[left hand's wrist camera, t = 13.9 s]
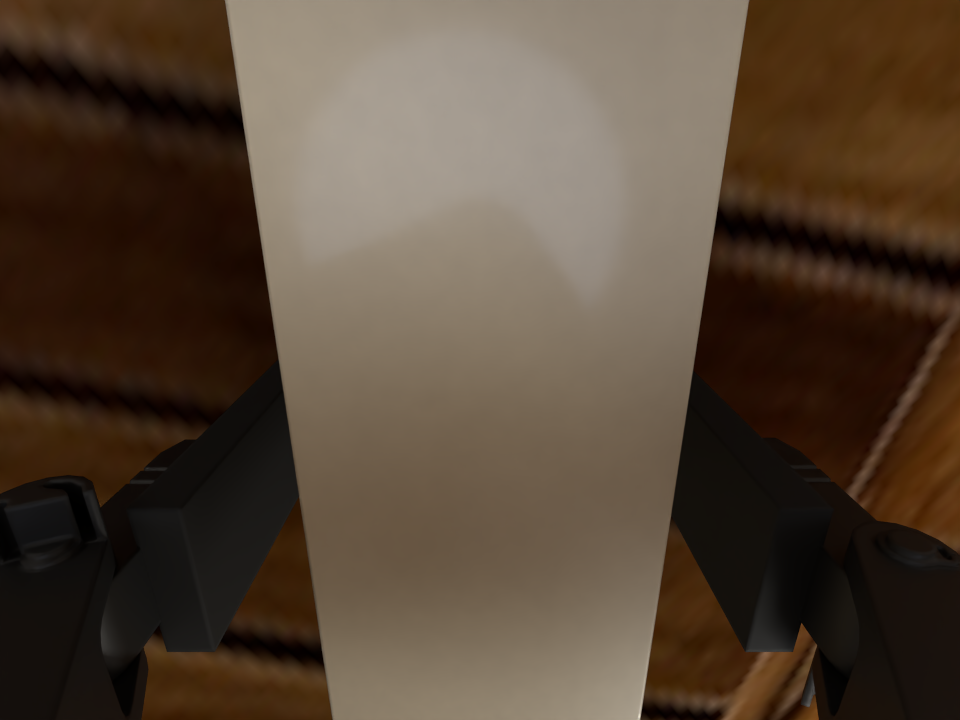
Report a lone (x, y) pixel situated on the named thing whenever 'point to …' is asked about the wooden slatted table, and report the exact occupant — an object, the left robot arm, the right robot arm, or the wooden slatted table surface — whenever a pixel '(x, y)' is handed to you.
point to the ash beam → (486, 328)
